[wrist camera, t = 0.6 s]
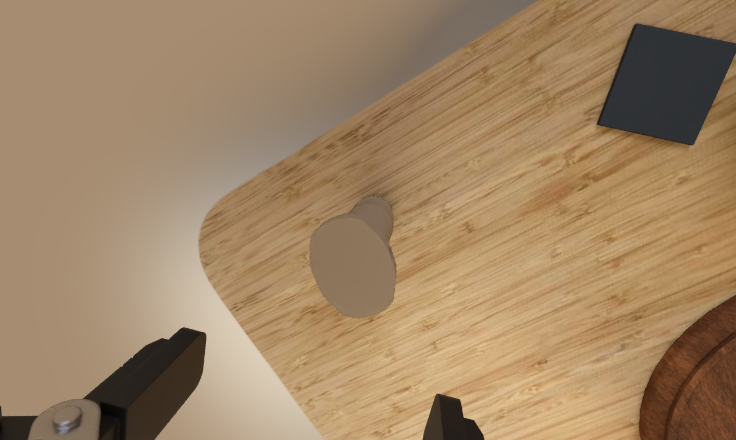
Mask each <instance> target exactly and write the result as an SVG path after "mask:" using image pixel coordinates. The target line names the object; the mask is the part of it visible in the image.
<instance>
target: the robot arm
mask: <svg viewBox="0 0 736 440" xmlns="http://www.w3.org/2000/svg"><path fill="white" fill-rule="evenodd" d="M205 346H206V334H205V333H204V332H200V331H196V330H193V329H189V328H184V327H183V328H181V329H180V330H179V331H178V332H177V333H175V334H174V335H173V336H172V337H171V338H170V339H169V340H167V339H163V338H161V339H159V340H157V341H155V342H153V343H150V344H148V345H146V346H145V347H144V348H142V349H141V350H140V351H139V352H138V353H136V354H135V355H134V356H133V358H130V359H129V360H128V361H127V362H126V363H125V364H124V365H123V367H120V368H119V369H118V370H116V371H115V372H114V373H113V374H112V375H110V376H109V377H108V378H107V379H106V380H105V381H103V382H102V383H101V384H100V385H99V386H98V387H96V388H95V389H94V390H93V391H91V392H90V393H89V394H88V395H87V396H85V398H83V399H74V400H68V401H64V402H61V403H59V404H56V405H54V406H52V407H50V408H48V409H47V410H45V411H44V412H42V413H41V414H40V415H39V416H2V414H1V406H0V440H154V439H155V438H156V437H157V436H158V435H159V433H160V432H161V431H162V430H163V428H164V427H165V426H166V425H167V423H168V422H169V421H170V420H171V418H172V417H173V416H174V415H175V414H176V412H177V411H178V410H179V409H180V407H181V406H182V405H183V404H184V402H185V401H186V400H187V399H188V397H189V396H190V395H191V394H192V392H193V391H194V390H195V389H196V387H197V385H198V383H199V381H200V379H201V376H202V373H203V366H204V355H205ZM423 440H484V436H483V434H482V432H481V431H480V429H479V428H478V426H477V424H476V423H475V421H474V420H471V419H467V418H464V417H463V412H462V406H461V401H460V399H457V398H453V397H449V396H445V395H441V394H436V396H435V399H434V402H433V405H432V408H431V411H430V415H429V418H428V421H427V424H426V427H425V431H424V435H423Z"/></svg>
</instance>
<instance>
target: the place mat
mask: <svg viewBox="0 0 736 440" xmlns="http://www.w3.org/2000/svg"><path fill="white" fill-rule="evenodd" d="M735 53H736V44H735V43H730V42H725V41H720V40H716V39H711V38H706V37H701V36H696V35H691V34H686V33H681V32H677V31H672V30H667V29H662V28H657V27H652V26H647V25H642V24H635V25H634V28H633V30H632V33H631V36H630V38H629V41H628V44H627V46H626V49H625V52H624V54H623V57H622V60H621V62H620V65H619V67H618V70H617V73H616V75H615V78H614V81H613V83H612V86H611V89H610V91H609V94H608V96H607V99H606V102H605V104H604V107H603V110H602V112H601V115H600V118H599V120H598V123H597V125H601V126H606V127H611V128H615V129H620V130H624V131H629V132H633V133H638V134H642V135H647V136H652V137H656V138H661V139H665V140H670V141H674V142H679V143H683V144H688V145H694V143H695V141H696V139H697V136H698V134H699V132H700V130H701V128H702V125H703V123H704V121H705V119H706V117H707V115H708V112H709V110H710V108H711V106H712V104H713V101H714V99H715V97H716V95H717V93H718V90H719V88H720V86H721V84H722V82H723V80H724V77H725V75H726V73H727V71H728V69H729V66H730V64H731V62H732V60H733V58H734V56H735Z"/></svg>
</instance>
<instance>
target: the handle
mask: <svg viewBox="0 0 736 440" xmlns="http://www.w3.org/2000/svg"><path fill="white" fill-rule="evenodd" d="M392 231H393V213H392V206H391V204H390V203H389V202H386V201H385V200H383V199H382V198H381V197H380V195H377V194H375V195H374V196H372V197H368V198H364V199H363V200H361V201H360V202H359V203H358V204H356V205H355V206H354V208H353V209H352V210H351V212H350V213H349V214H343V215H339V216H336V217H333V218H331V219H329V220H327V221H326V222H324V223H323V224H322V225H321V226H320V227H319V228H318V229H317V230H316V231H315V232H314V233H313V235H312V236H311V241H310V267H311V270H312V273H313V276H314V278H315V280H316V283H317V285H318V287H319V289H320V291H321V293H322V295H323V296H324V297H325V298H326V299H327V301H328V302H329V303H330V304H332V305H333V306H334V307H335V308H336V309H337V310H338V311H339V312H340V313H341V314H343V315H344V316H347V317H353V318H364V317H369V316H373V315H375V314H378V313H380V312H382V311H384V310H385V309H386V308H388V307H389V306H390V305H391V303H392V302H393V299H394V292H395V283H396V262H395V259H394V256H393V253H392V249H391V247H390V245H389V240H390V237H391V235H392Z"/></svg>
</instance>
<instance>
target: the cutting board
mask: <svg viewBox="0 0 736 440" xmlns="http://www.w3.org/2000/svg"><path fill="white" fill-rule="evenodd" d="M640 435H641V440H736V296H734V297H732V298H731V299H729V300H727V301H726V302H724V303H722V304H721V305H719V306H718V307H716V308H714V309H713V310H711V311H709V312H708V313H707V314H706V315H704V316H703V317H702V318H701V319H699V320H698V321H697V322H696V323H694V324H693V325H692V326H691V327H689V328H688V329H687V330H686V331H685V332H684V333H683V334H682V335H681V336H680V337H679V338H678V340H677V341H676V342H675V343H674V344H673V345H672V346H671V347H670V348H669V349H668V351H667V352H666V354H665V355H664V357H663V358H662V359H661V361H660V362H659V364H658V365H657V367H656V368H655V370H654V372H653V374H652V377H651V379H650V381H649V383H648V385H647V387H646V390H645V394H644V398H643V402H642V406H641V410H640Z"/></svg>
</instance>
